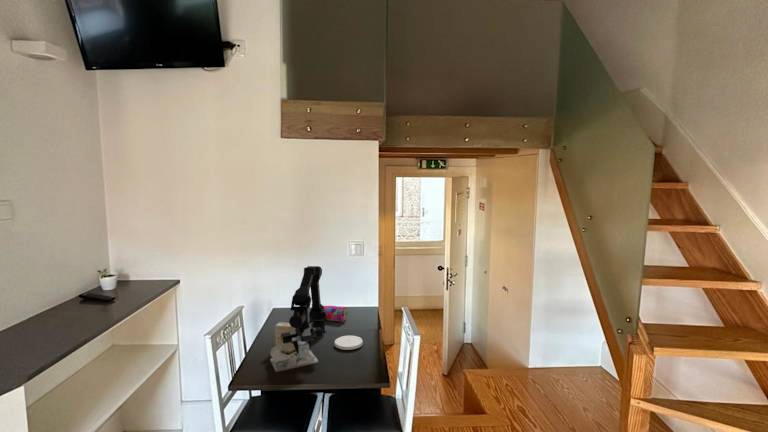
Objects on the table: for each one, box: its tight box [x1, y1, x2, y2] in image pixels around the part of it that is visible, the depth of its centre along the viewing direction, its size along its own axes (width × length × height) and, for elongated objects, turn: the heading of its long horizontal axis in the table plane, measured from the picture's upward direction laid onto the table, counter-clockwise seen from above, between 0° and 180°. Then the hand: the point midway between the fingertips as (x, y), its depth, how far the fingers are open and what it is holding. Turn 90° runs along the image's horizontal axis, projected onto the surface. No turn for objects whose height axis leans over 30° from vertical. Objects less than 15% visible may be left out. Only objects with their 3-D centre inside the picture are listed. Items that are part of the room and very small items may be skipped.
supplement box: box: [274, 321, 296, 354], centre depth 187 cm, size 8×5×13 cm, turn 71°
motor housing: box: [269, 345, 319, 373], centre depth 175 cm, size 19×12×7 cm, turn 118°
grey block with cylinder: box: [296, 340, 310, 359], centre depth 175 cm, size 4×8×6 cm, turn 28°
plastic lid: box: [334, 335, 364, 351], centre depth 193 cm, size 14×14×2 cm
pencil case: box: [323, 305, 348, 323], centre depth 229 cm, size 22×9×9 cm, turn 73°
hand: (302, 352), depth 176 cm, fingers closed on grey block with cylinder, 4 cm apart
